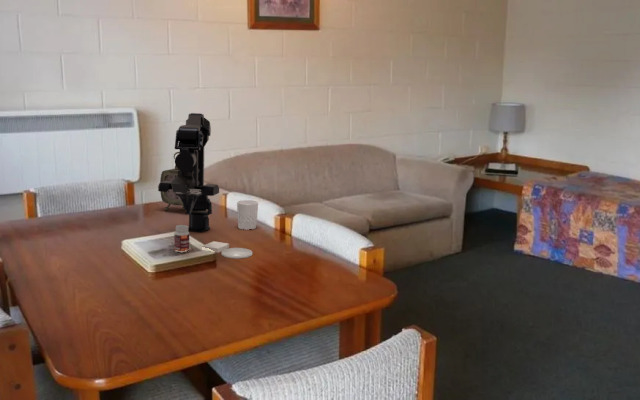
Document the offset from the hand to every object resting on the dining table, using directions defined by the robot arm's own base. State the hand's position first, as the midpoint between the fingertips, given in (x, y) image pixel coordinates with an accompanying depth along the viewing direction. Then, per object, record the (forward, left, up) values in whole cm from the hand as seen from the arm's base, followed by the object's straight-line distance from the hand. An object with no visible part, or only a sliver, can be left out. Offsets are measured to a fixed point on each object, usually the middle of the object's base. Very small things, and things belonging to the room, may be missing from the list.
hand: (188, 214), depth 196 cm
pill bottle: (-2, -1, -13) cm, 13 cm away
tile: (+6, +10, -12) cm, 17 cm away
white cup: (+2, +37, -13) cm, 39 cm away
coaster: (+15, +5, -12) cm, 20 cm away
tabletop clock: (-34, +47, -13) cm, 59 cm away
